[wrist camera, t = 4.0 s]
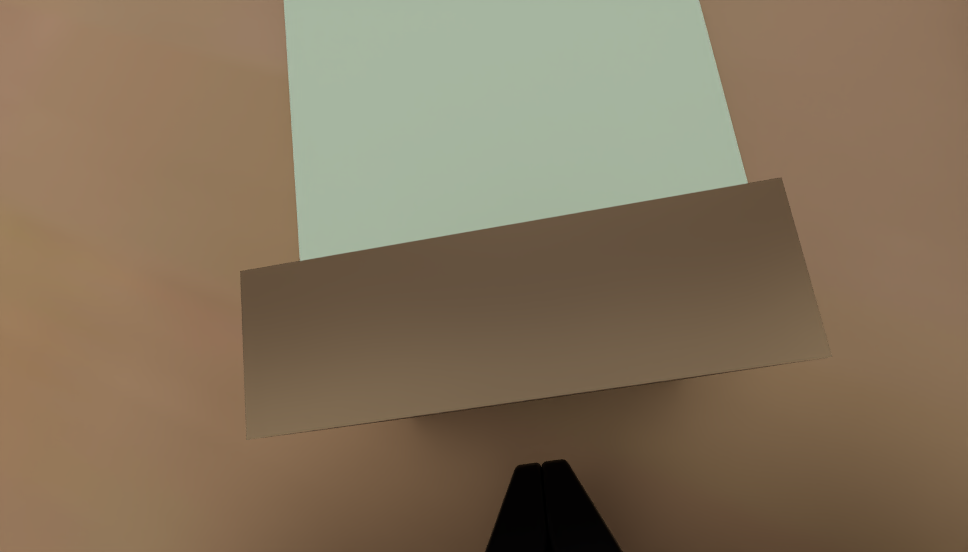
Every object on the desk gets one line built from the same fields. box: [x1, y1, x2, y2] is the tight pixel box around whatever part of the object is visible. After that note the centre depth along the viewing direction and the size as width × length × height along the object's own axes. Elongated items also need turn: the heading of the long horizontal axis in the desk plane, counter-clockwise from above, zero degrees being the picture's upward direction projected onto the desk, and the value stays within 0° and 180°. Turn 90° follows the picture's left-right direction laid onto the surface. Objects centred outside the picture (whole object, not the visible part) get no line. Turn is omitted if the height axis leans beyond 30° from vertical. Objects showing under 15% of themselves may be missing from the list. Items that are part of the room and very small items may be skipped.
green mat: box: [284, 0, 748, 261], centre depth 18 cm, size 14×14×1 cm
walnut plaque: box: [240, 178, 832, 440], centre depth 12 cm, size 2×8×9 cm, turn 98°
